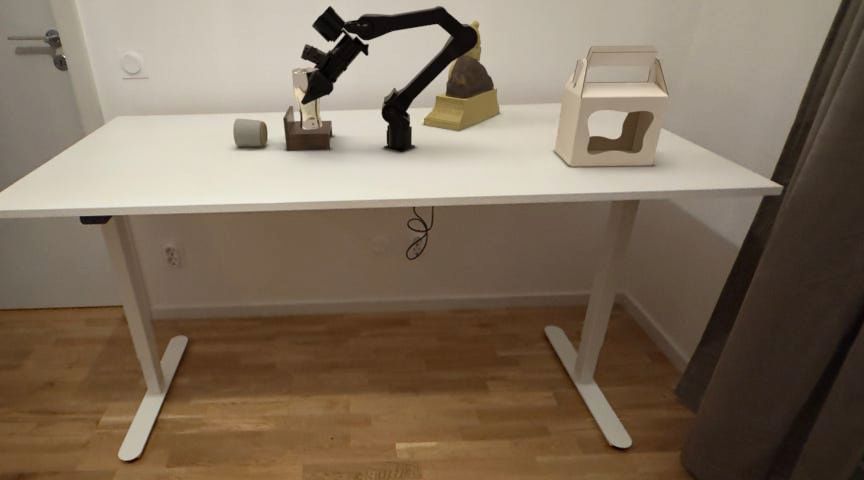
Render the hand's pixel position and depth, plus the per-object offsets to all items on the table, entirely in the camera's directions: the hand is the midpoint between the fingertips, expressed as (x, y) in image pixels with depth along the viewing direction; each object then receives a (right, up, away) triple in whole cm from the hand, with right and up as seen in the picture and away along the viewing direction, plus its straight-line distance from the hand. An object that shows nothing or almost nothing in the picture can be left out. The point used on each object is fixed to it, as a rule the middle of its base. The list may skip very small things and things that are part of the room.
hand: (303, 100), depth 143 cm
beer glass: (+1, -6, +4) cm, 7 cm away
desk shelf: (0, -9, +12) cm, 15 cm away
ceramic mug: (-16, -10, +10) cm, 22 cm away
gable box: (+80, -16, 0) cm, 82 cm away
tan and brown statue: (+47, +5, +36) cm, 60 cm away
